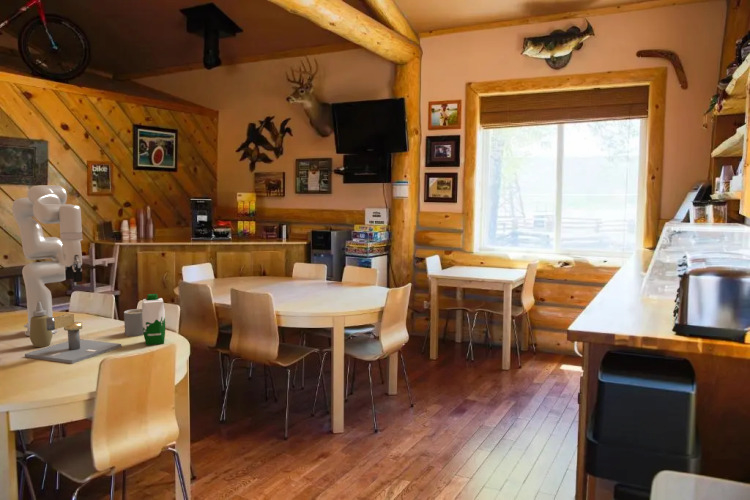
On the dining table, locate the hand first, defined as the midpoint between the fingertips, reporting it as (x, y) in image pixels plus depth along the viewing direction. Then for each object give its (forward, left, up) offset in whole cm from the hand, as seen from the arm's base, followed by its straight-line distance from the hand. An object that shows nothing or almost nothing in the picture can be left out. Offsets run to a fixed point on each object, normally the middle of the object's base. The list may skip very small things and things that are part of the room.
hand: (74, 280), depth 228 cm
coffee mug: (+3, +31, -28) cm, 42 cm away
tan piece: (0, -6, -19) cm, 20 cm away
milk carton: (+20, +20, -28) cm, 40 cm away
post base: (0, -2, -28) cm, 28 cm away
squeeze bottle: (-20, 0, -28) cm, 35 cm away
